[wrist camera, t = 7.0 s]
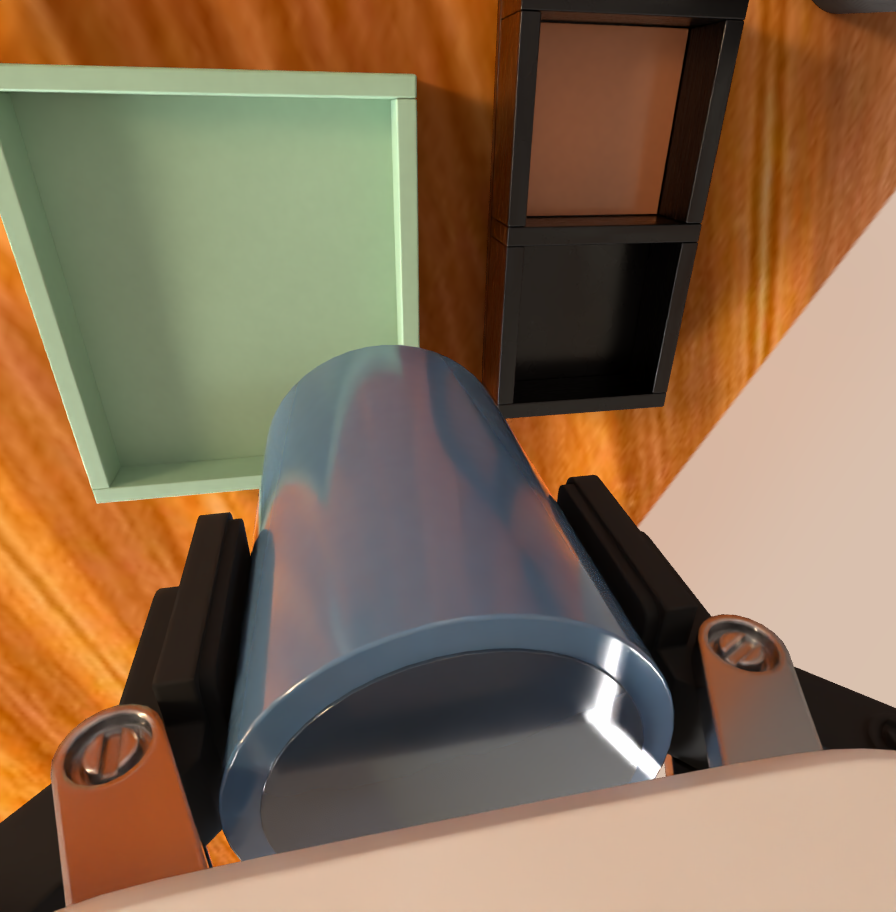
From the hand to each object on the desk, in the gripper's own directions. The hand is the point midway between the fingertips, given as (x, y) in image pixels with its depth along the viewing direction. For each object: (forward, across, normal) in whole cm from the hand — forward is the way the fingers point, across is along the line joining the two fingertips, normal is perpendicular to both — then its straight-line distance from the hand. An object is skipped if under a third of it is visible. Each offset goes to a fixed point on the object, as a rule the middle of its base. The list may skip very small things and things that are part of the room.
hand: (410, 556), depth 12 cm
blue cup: (+4, 0, 0) cm, 4 cm away
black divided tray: (+19, -11, -3) cm, 23 cm away
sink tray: (+19, +5, 0) cm, 20 cm away
